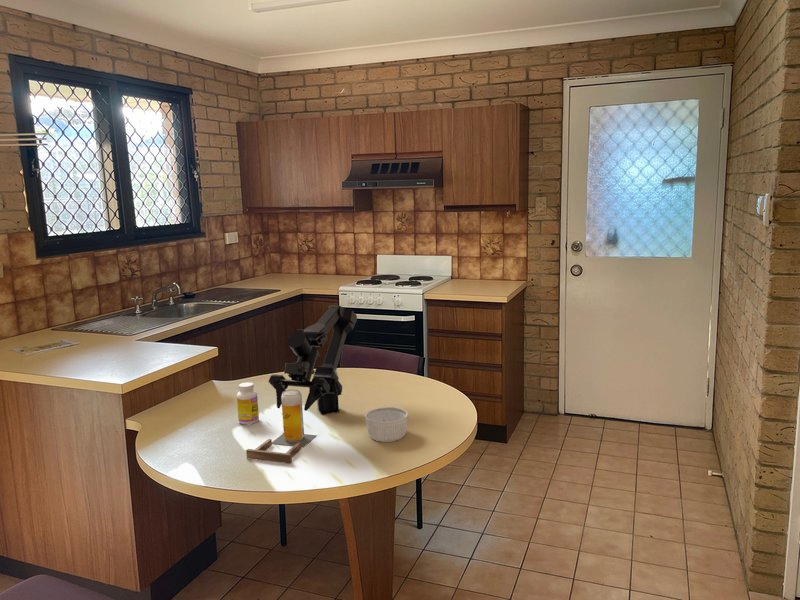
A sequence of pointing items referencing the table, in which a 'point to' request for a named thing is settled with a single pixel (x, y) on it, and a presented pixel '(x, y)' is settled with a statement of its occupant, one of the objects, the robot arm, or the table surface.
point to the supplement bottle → (247, 404)
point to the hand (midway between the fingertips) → (291, 409)
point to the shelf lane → (273, 453)
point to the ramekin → (386, 423)
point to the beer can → (292, 415)
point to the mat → (304, 441)
